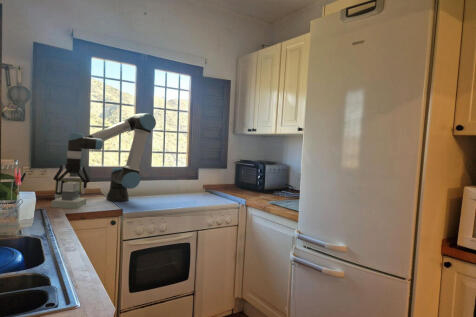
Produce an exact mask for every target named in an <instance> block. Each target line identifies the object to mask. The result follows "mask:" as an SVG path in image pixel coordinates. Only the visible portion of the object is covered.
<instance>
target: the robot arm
mask: <svg viewBox="0 0 476 317" xmlns="http://www.w3.org/2000/svg"><path fill="white" fill-rule="evenodd" d="M156 121H157V120H156V118H155V116H154V115H152V114H151V113H148V112H145V113H136V114H133V115H131V116H129V117H127V118H123V120H122V121H121V122H118V123H115V124H113V125H111V126H108V127H105V128H104V129H100V130H98V131H96V132H93V133H91V134H89V135H86V136H84V134H83V133H80V132H70V133H69V135H68V139H67V141H68V142H67V143H68V144H67V155H66V157H67V158H66V164H65V165H63V164H61V165H60V166H59V169H58V171H57V172H56V174H55V175H54V176H53V179H52V180H54V181H55V186H58V190H57V192H61V181H60V180H61V179H62V178H63V177H66V175H68V174H76V175H77V177H80V178H81V180H82V185H81V195H82V194H85V189H87V186H88V185H87V184H88V183H90V182H91V179H90V176H89V174H88V172H87V167H86V166H81V162H82V159H81V158H82V150H90V151H91V150H92V151H101V150H102V149H103V147H104V142H106V141H107V140H110V139H112V138H114V137H117V136H119V135H122V134H124V133H127V132H128V133H130V132H132V131H134V136H133V139H132V143H131V146H130V149H129V153H128V156H127V160H126V164H124V166H122V167H113V168H112V170H111V173H110V184H109V185H110V186H109V190H108V192H107V195H106V199H108V200H107V201H109V200H110V202H111V201H112V202H129V199H130V197H129V192H128V189H136V188H137V187H138V186H139V184H140V182H141V177H140V172H141V170H140V169H139V166H140V163H141V160H142V156H143V154H144V149H145V145H146V142H147V139H148V136H150V135H151V133H152V130H153V129H155V127H156V125H157V122H156ZM64 169H65V171H64V172H63V170H64ZM80 170H81V171H82V173H83V174H82V173H81V171H80ZM62 172H63V173H62ZM83 175H84V176H83ZM59 176H60V177H59ZM58 177H59V178H58ZM56 181H57V183H56Z"/></svg>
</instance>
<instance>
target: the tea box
mask: <svg viewBox="0 0 476 317" xmlns="http://www.w3.org/2000/svg"><path fill="white" fill-rule="evenodd" d="M60 176H61V175H59V177H60ZM59 177H58V178H59ZM60 181H61V192H57V190H58V186H56V185H55V187H54V200H55V199H58V198H61V197H62V190H63V183H66V182H80V187H79V197H78V198H82V197H81V196H82V183H83V181H82V180H81V178H80V177H79V176H64V177H63V178H62V179H61V180H60ZM56 183H57V181H56V180H55V184H56Z"/></svg>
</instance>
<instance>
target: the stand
mask: <svg viewBox="0 0 476 317" xmlns="http://www.w3.org/2000/svg"><path fill="white" fill-rule="evenodd" d="M85 205H87V198H86V197H81V198H78V199H75V200H73V201H69V200H62V197H61V198H58V199H55V198H54V199H52V200H51V205H50V206H51V208H56V207H61V208H60V209H71V210H72V209H74V210H77V209H80V208H81V207H83V206H85Z"/></svg>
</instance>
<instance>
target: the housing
mask: <svg viewBox="0 0 476 317" xmlns="http://www.w3.org/2000/svg"><path fill="white" fill-rule="evenodd" d="M79 187H80V182H66V183H63V190H62V200H69V201H73V200H75V199H78V197H79Z"/></svg>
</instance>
